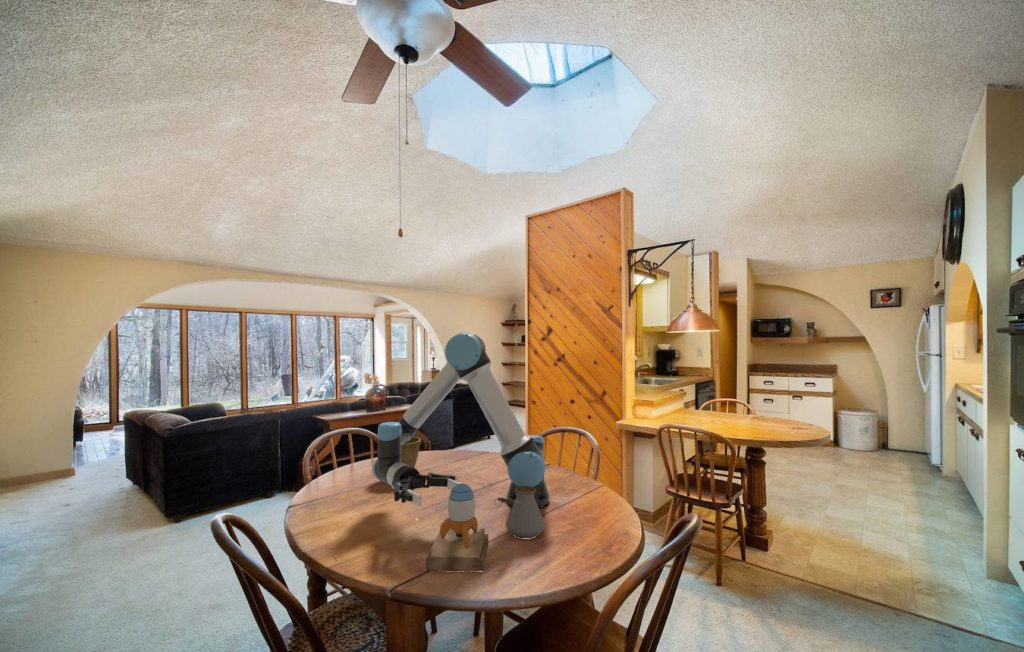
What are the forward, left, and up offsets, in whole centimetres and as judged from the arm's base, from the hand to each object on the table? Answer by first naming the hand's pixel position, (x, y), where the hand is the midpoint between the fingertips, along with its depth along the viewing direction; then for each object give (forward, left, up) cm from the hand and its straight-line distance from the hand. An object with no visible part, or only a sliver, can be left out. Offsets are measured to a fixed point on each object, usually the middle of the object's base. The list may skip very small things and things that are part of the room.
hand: (441, 494), depth 116 cm
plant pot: (+29, -59, -14) cm, 67 cm away
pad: (-6, +6, -14) cm, 16 cm away
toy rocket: (-5, +6, -9) cm, 12 cm away
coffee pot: (-21, -4, -14) cm, 26 cm away
